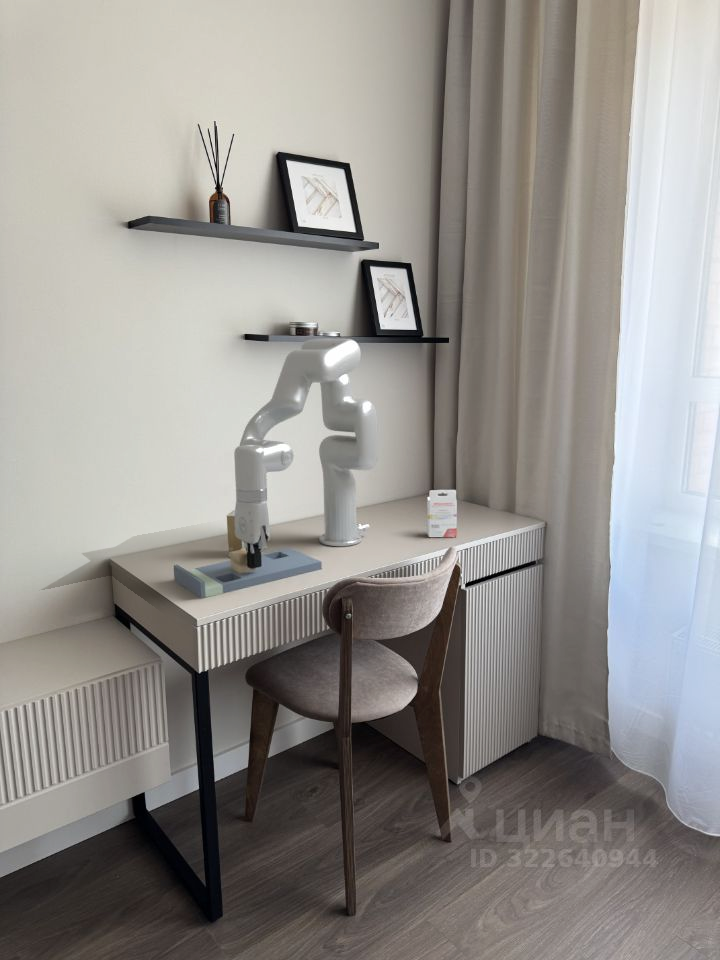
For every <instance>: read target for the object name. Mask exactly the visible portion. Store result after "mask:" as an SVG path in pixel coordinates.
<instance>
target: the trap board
mask: <svg viewBox="0 0 720 960" xmlns="http://www.w3.org/2000/svg"><path fill="white" fill-rule="evenodd" d="M261 560H262V566H261V567H258V568H255V570H252V571H247V572H243V573H238V572H236V571H234V570H232V569H231V560H227V561H222V562H218V563H212V564H209V565H205V566H199V567H196V568H191V569H185V568H184V567H182V566H180V565H179V564H174V565H173V580H174V582H176V583H178V584H179V585H181V586H182V587H184V588H185V589H186V590H188V591H190V592H191V593H193V594H194V595H196V596H198V597H199V598H201V599H205V598H208V597H212V596H217V595H221V594H225V593H229V592H233V591H237V590H241V589H246V588H249V587H250V588H251V587H254V586H257V585H262V584H266V583H270V582H274V581H278V580H282V579H287V578H290V577H294V576H299V575H303V574H306V573H307V574H308V573H310V572H315V571H319V570H322V569H323V568H322V567H323V566H322V565H323V564H322V561H321V560H319V559H317V558H314V557H312V556H309V555H307V554H305V553H303V552H301V551H297V550H295V549H294V548H290V547H287V548H283V549H277V550H273V551H269V552H264V553H261Z"/></svg>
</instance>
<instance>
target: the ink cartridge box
mask: <svg viewBox="0 0 720 960" xmlns="http://www.w3.org/2000/svg"><path fill="white" fill-rule="evenodd" d="M428 493H429V494H428V495H429V496H427V499H426V502H427V503H426V506H427V507H426V513H427V514H426V521H427V522H426V523H427V525H426V527H427V528H426V530H427V531H426V533H427V536H428V538H429V537H452V536H458V531H457V529H458V528H457V527H458V525H457V524H458V520H457V519H458V517H457V515H458V510H457V509H458V507H457V506H458V504H457V503H458V500H457V490H456V489H437V490H436V489H435V490H433V489H432V490H429V492H428ZM442 494H444V495H442Z"/></svg>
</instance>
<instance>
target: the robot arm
mask: <svg viewBox="0 0 720 960" xmlns="http://www.w3.org/2000/svg"><path fill="white" fill-rule="evenodd" d="M361 356H362V353H361V347H360V346H359V344H358V342H357V341H355V340H354V339H351V338H325V337H324V338H311V339H308V340H306V341H304V342H303V343H302V345H301V348H300V349H296V350H292V351H291V352H289V353H288V354H287V356H286V357H285V359H284V362H283V365H282V367H281V372H280V374H279V377H278V379H277V383H276V385H275V388H274V391H273V394H272V397H271V399H270V400H269V401H268V402H267V403H266V404H264V405H263V406H262V407H261V408H259V410H258V411H257V412H256V413H255V414H254V415H253V416H252V417H251V418H250V420H249V421H248V422H247V424H246V426H245V428H244V430H243V433H242V437H241V439H240V443H239V445H238V446H237V447H235V449H234V451H233V452H234V458H233V459H234V477H235V480H234V481H235V495H236V496H235V498H236V500H235V501H236V502H235V507H234V510H235V536H236V537H237V538H239V539H241V540H242V541H244V543H245V548H246V551H247V567H248V568H250V569H254V568H258V567H261V566H262V560H261V554H262V552H263V549H266V548H267V542H269V540H270V535H271V534H270V531H271V530H270V516H269V509H268V503H267V502H268V484H267V482H268V481H267V480H268V479H267V473H271V472H282V471H285V470H286V469H288V468H289V467H290V466H291V465H292V463H293V460H294V456H295V455H294V451H293V448H292V447H291V446H290V445H289V444H288V443H286V442H283V441H279V440H268V439H265V437H266V435H267V434H268V433H269V432H270V431H271V429H273V428H274V427H275V426H277V425H280V423H282V422H285V421H287V420H289V419H292V418H294V417H296V416H298V415H300V414H301V413H302V412H303V410H304V407H305V405H306V401H307V398H308V395H309V392H310V388H311V386H312V384H313V383H319V384H320V392H321V395H320V396H321V412H322V413H321V414H322V421H323V424H324V425H323V426H324V427H325V428H326V429H327V430H329V431H334V432H345V433H355V434H354V435H353V436H352V435H343V434H333V435H328V436H326V437H325V438H323V439H322V440H321V442H320V444H319V448H318V455H319V460H320V464H321V468H322V469H321V470H322V480H323V516H324V517H323V518H324V519H323V521H324V523H323V525H324V533H322V534H321V535H319V542H320V543H321V544H322V545H326V546H331V547H347V546H354V545H357V544H359V543H361V542H362V540H363V537H362V535H361V534H360V533H362V532H366V531H369V530H370V529H371V528H370V525H369V524H368V523H367V524H362V525H361V523H357V484H356V478H355V476H354V474H353V472H352V470H354V471H370V470H373V468H375V466H376V465H377V463H378V460H379V459H378V458H379V430H378V413H377V410H376V407H375V405H374V404H373V403H372V401H370V400H368V399H364V398H353V397H352V389H351V388H352V387H351V380H350V377H349V373H351V372H353V371H354V370H355V369H356V368H357V366H358V365H359V363H360V361H361Z"/></svg>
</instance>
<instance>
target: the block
mask: <svg viewBox="0 0 720 960" xmlns="http://www.w3.org/2000/svg"><path fill="white" fill-rule="evenodd" d="M229 558H230V561H231V569H232V570H234V571H236V572H238V573H243V572H247V571H252V570H255V568H254V569H250V568H248V567H247V551H246V549H242V550H237V551H233V552H230V557H229Z"/></svg>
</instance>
